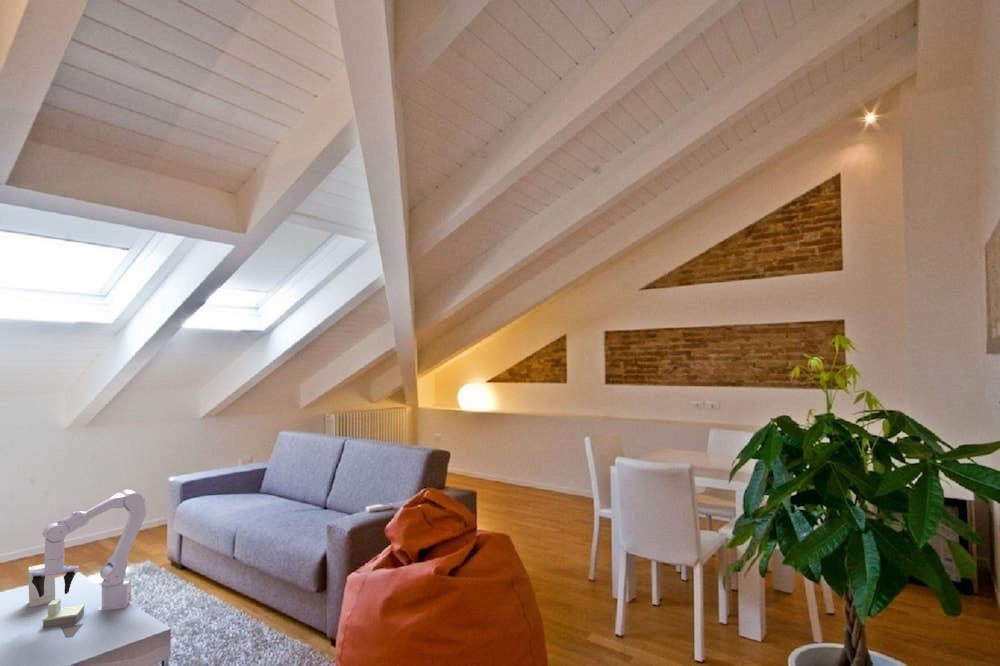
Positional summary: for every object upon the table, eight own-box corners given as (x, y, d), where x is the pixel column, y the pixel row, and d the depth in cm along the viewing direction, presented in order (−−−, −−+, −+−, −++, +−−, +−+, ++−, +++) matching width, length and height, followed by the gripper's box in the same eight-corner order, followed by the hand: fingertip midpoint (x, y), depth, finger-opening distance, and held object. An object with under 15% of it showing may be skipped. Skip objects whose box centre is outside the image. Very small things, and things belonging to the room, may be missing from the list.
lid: (84, 607, 213) (84, 593, 213) (76, 617, 205) (76, 603, 206) (51, 612, 210) (51, 598, 210) (42, 622, 202) (42, 608, 202)
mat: (83, 624, 205) (83, 623, 205) (72, 638, 196) (72, 636, 196) (42, 630, 201) (42, 629, 201) (30, 644, 191) (30, 643, 191)
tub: (84, 614, 213) (84, 606, 213) (76, 624, 206) (76, 615, 206) (51, 618, 210) (52, 610, 210) (42, 629, 202) (43, 620, 202)
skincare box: (55, 597, 227) (55, 560, 228) (55, 603, 223) (55, 565, 223) (28, 604, 222) (28, 566, 222) (27, 609, 217) (28, 570, 218)
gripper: (82, 550, 213) (81, 587, 213) (35, 556, 208) (34, 593, 208) (75, 557, 207) (74, 594, 206) (26, 562, 202) (26, 601, 201)
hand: (54, 594), depth 207 cm, fingers open, 7 cm apart
